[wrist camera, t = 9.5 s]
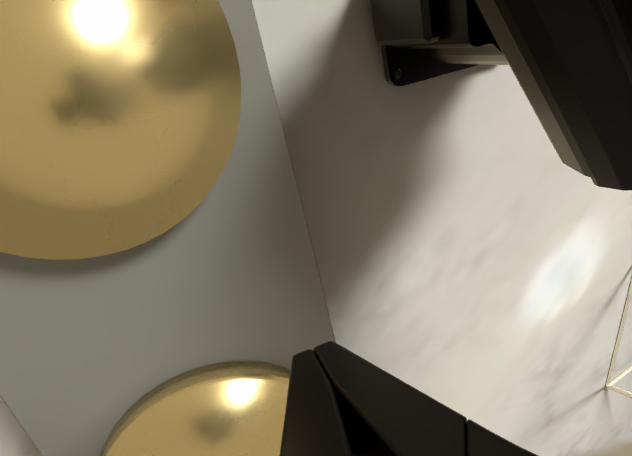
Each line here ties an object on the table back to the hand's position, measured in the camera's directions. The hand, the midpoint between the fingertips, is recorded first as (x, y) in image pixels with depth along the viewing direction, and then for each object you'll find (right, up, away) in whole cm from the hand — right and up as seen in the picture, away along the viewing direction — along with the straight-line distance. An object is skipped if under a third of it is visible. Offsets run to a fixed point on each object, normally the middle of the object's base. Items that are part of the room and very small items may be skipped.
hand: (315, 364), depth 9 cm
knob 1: (-8, +8, +7) cm, 14 cm away
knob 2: (-5, -6, +14) cm, 16 cm away
